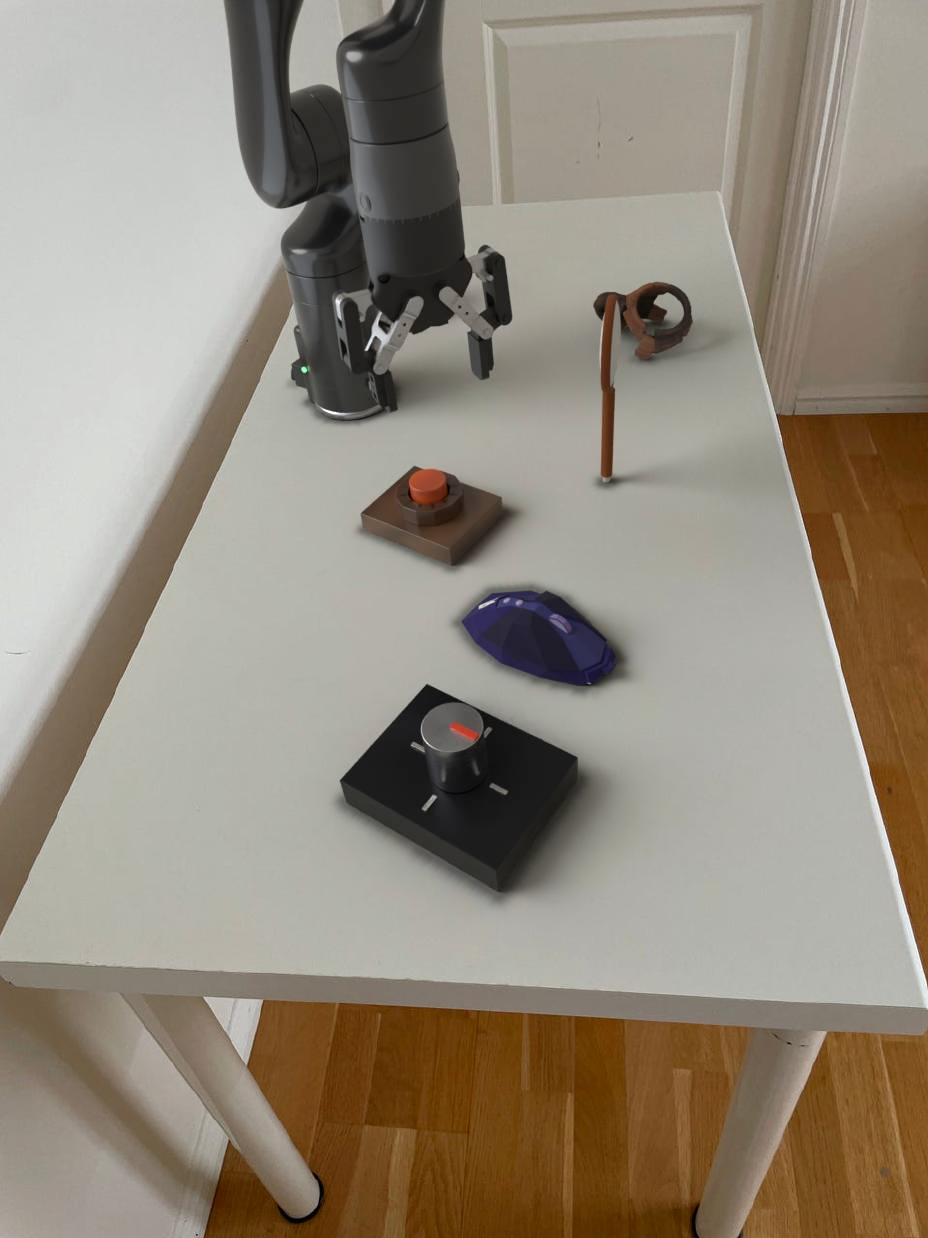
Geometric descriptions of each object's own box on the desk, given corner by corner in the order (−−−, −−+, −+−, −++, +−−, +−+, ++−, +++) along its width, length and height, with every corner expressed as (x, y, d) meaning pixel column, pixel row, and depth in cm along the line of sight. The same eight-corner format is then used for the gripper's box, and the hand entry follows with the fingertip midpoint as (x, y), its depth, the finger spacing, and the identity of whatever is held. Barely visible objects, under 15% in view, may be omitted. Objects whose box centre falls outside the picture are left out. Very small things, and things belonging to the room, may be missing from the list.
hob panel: (346, 803, 72) (338, 779, 70) (430, 706, 78) (426, 682, 76) (498, 892, 66) (496, 869, 63) (578, 780, 71) (578, 755, 69)
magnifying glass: (610, 508, 94) (616, 323, 80) (592, 507, 94) (595, 323, 80) (618, 457, 100) (625, 277, 85) (602, 456, 100) (606, 276, 86)
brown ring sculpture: (685, 322, 119) (705, 282, 111) (670, 386, 117) (690, 351, 109) (593, 297, 119) (607, 256, 111) (577, 361, 117) (589, 324, 109)
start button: (403, 498, 92) (401, 484, 91) (425, 478, 94) (423, 464, 93) (433, 509, 90) (431, 495, 89) (454, 489, 92) (453, 475, 91)
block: (363, 530, 95) (356, 498, 92) (416, 482, 100) (412, 451, 97) (451, 566, 90) (447, 534, 87) (503, 513, 95) (501, 482, 92)
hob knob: (417, 776, 69) (407, 732, 66) (451, 735, 72) (444, 690, 68) (465, 803, 67) (459, 759, 64) (499, 760, 70) (495, 715, 66)
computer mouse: (509, 574, 88) (507, 542, 85) (646, 641, 81) (648, 608, 78) (446, 633, 84) (441, 601, 81) (584, 709, 76) (585, 677, 73)
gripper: (472, 156, 72) (490, 348, 84) (299, 204, 69) (341, 398, 80) (518, 183, 67) (530, 384, 78) (334, 237, 64) (374, 439, 75)
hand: (435, 391), depth 79 cm, fingers open, 8 cm apart
